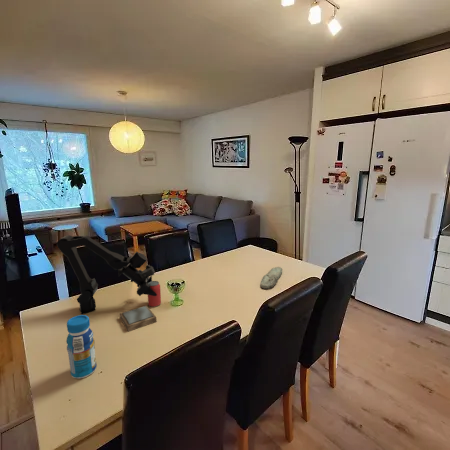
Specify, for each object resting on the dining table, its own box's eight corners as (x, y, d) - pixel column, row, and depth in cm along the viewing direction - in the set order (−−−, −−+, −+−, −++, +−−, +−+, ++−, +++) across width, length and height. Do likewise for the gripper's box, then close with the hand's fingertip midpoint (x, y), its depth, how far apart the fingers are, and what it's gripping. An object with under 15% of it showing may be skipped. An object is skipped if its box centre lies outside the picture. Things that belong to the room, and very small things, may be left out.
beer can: (149, 301, 144) (148, 280, 141) (161, 300, 144) (160, 280, 142) (147, 307, 137) (145, 286, 135) (160, 307, 138) (159, 285, 135)
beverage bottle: (64, 375, 92) (57, 323, 88) (85, 359, 100) (79, 311, 96) (83, 382, 89) (76, 329, 85) (102, 365, 97) (97, 316, 93)
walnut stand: (128, 331, 117) (127, 325, 116) (120, 318, 127) (119, 312, 127) (156, 321, 124) (156, 316, 124) (146, 310, 135) (146, 304, 134)
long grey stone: (285, 273, 187) (271, 271, 192) (285, 265, 187) (271, 264, 191) (273, 290, 156) (257, 288, 160) (273, 282, 155) (257, 280, 159)
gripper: (142, 269, 126) (167, 289, 130) (146, 256, 144) (167, 274, 148) (126, 286, 126) (151, 305, 131) (132, 271, 144) (154, 288, 149)
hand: (156, 292), depth 140 cm, fingers closed on beer can, 7 cm apart
